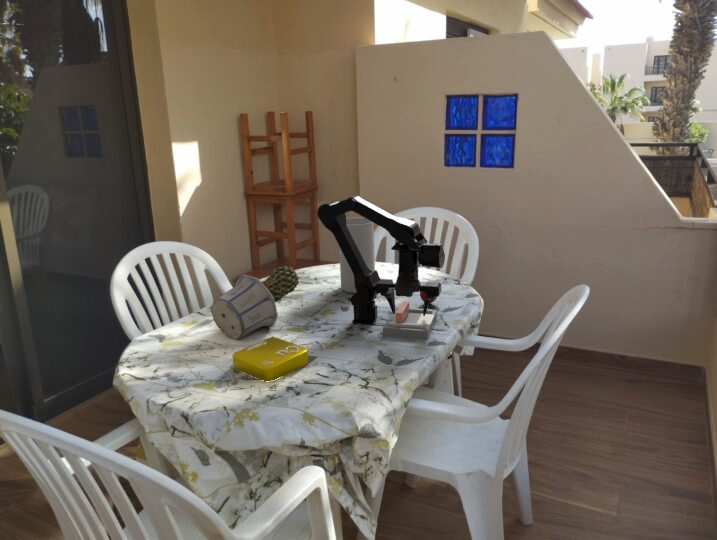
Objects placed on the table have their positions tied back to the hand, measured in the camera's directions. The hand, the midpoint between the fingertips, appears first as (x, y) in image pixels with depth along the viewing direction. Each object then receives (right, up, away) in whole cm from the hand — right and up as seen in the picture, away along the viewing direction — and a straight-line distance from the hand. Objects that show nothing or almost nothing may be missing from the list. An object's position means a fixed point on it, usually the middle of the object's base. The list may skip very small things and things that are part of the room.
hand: (409, 314), depth 171 cm
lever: (-2, -1, +1) cm, 2 cm away
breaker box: (+1, -4, +1) cm, 4 cm away
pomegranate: (+8, +2, +19) cm, 21 cm away
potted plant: (-45, -4, +6) cm, 45 cm away
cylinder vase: (-15, +7, +38) cm, 41 cm away
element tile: (-38, -12, -21) cm, 45 cm away
